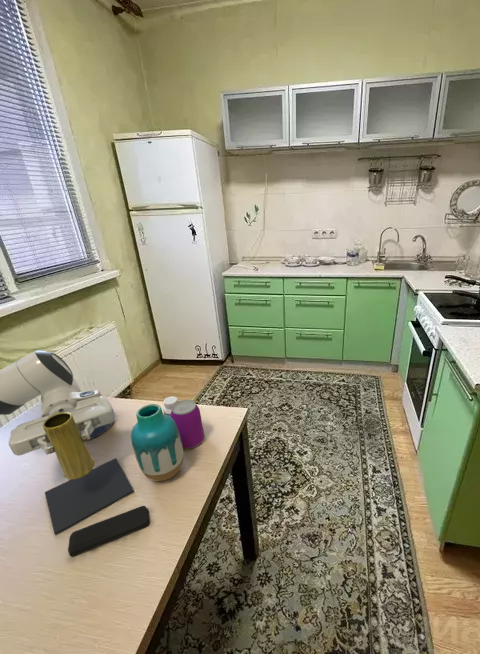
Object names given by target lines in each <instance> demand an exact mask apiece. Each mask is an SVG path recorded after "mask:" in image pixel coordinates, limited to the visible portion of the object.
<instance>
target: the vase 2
mask: <svg viewBox="0 0 480 654" xmlns="http://www.w3.org/2000/svg"><path fill="white" fill-rule="evenodd" d="M135 416H136V421H137V422H136V423H135V424H134V426H133V427H132V429H131V433H130V440H131V446H132V449H133V454H134V457H135V459H136V462H137V464H138V467H139V469H140V471H141V473H142V474H143V475H144V476H145V477H146V478H147V479H149V480H151V481H153V482H154V481H156V482H162V481H166V480H170V479H171V478H172V477H174V476H176V475H177V474H178V473H179V471H180V470H181V468H182V466H183V463H184V448H183V447H182V442H181V437H180V434H179V430H178V427H177V425H176V423H175V421H174V420H173V419H172V418H171V417H170V416H168V415H165V414H164V412H163V408H162V407H161V406H160V404H156V403H149V404H146V405H143V406H142V407H140V408H139V409H137V411H136V413H135Z"/></svg>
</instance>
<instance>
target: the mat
mask: <svg viewBox="0 0 480 654" xmlns="http://www.w3.org/2000/svg"><path fill="white" fill-rule="evenodd" d="M133 493H135V490H134V488H133V486H132V485H131V483H130V481H129V479H128V477H127V475H126V474H125V472H124V470H123V468H122V466H121V464H120V462H119V460H118V459H117V457H115V458H113V459H111V460H108V461H107V462H104V463H103V464H100V465H98V466H96V467H94V468H93V469H92V470H91V471H90V472H89V473H88V474H87V475H85V476H83V477H81V478H78V479H68V480H67V481H65V482H62V483H61V484H58V485H56V486H55V487H52V488H50V489H48V490H46V491H44V495H45V499H46V504H47V507H48V512H49V516H50V520H51V525H52V528H53V533H54V535H55V536H57V535H60V534H61V533H63V532H65V531H66V530H68V529H70V528H72V527H74V526H75V525H77V524H79V523H81V522H83V521H84V520H86V519H88V518H90V517H91V516H93V515H95V514H98V513H99V512H101V511H102V510H104V509H106V508H107V507H110V506H112V505H114V504H115V503H117V502H119V501H120V500H122V499H124V498H126V497H128V496H129V495H132V494H133Z"/></svg>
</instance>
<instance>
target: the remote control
mask: <svg viewBox="0 0 480 654" xmlns="http://www.w3.org/2000/svg"><path fill="white" fill-rule="evenodd" d="M150 521H151V520H150V512H149V509H148V508H147V506H145V505H140V506H138V507H135V508H133V509H130V510H127V511H124V512H122V513H118V514H116V515H114V516H111V517H109V518H106V519H104V520H100V521H98V522H96V523H92V524H90V525H88V526H85V527H83V528H82V527H81V528H79V529H76V530H75V531H72V533H71V534H70V535H69V541H68V548H67V550H68V556H69V557H71V558H72V557H76V556H78V555H80V554H81V555H82V554H83V553H85V552H88V551H91V550H93V549H95V548H99V547H101V546H103V545H106V544H108V543H111V542H113V541H115V540H118V539H120V538H124V537H126V536H129V535H131V534H133V533H136V532H138V531H141V530H143V529H146V528H147V527H149V526H150Z"/></svg>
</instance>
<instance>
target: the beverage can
mask: <svg viewBox="0 0 480 654" xmlns="http://www.w3.org/2000/svg"><path fill="white" fill-rule="evenodd" d="M170 416H171V418H172V419H173V420H174V421H175V423H176V425H177V427H178V430H179V434H180V437H181V442H182V447H183V449H193V448H196V447H198V446H199V445H200V444H201V443H202V442H203V441H204V439H205V431H204V426H203V421H202V415H201V410H200V408H199V406H198V405H197V404H196V402H195V401H194V400H192V399H182V400H178V402H177V403H175V404H174V405H173V406H172V411H171V415H170Z"/></svg>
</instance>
